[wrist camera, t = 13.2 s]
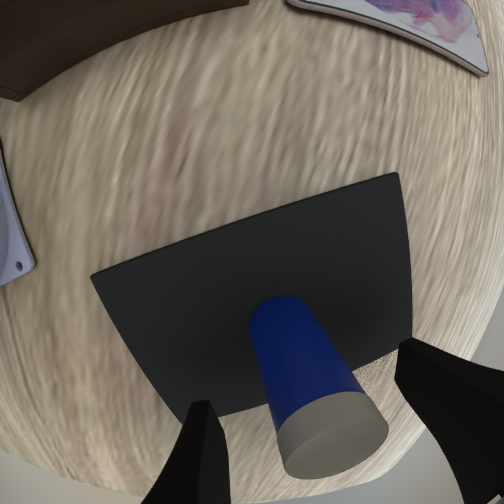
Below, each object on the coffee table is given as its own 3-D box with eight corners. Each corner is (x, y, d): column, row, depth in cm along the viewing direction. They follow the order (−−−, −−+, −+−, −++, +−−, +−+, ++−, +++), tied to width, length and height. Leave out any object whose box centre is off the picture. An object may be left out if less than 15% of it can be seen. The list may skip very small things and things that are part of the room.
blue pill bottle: (254, 356, 14) (290, 488, 7) (241, 303, 13) (277, 444, 6) (314, 340, 15) (381, 456, 7) (308, 286, 14) (396, 401, 6)
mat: (182, 420, 16) (182, 425, 15) (92, 274, 12) (89, 277, 12) (409, 338, 16) (412, 341, 16) (394, 172, 13) (398, 172, 13)
